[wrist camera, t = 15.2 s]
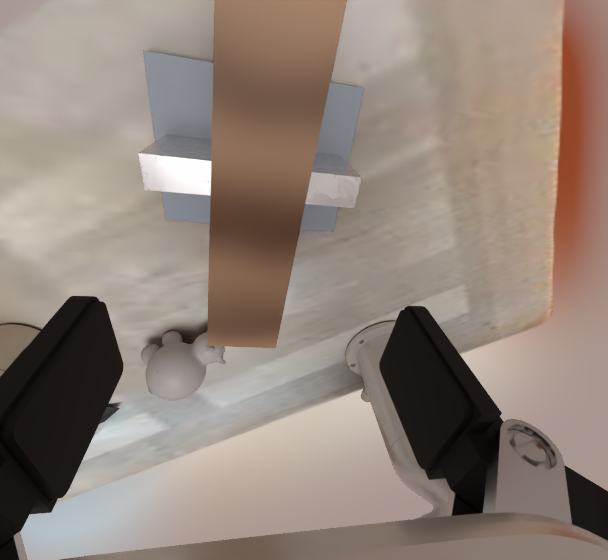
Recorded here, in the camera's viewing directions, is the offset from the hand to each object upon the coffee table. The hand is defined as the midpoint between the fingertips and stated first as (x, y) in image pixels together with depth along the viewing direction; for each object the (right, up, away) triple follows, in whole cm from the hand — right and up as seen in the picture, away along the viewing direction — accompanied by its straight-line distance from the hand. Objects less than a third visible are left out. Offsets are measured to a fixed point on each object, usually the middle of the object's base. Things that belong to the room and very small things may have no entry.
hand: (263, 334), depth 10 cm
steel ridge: (-3, +13, +18) cm, 23 cm away
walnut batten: (-2, +9, +12) cm, 16 cm away
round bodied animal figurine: (-14, -6, +33) cm, 36 cm away
